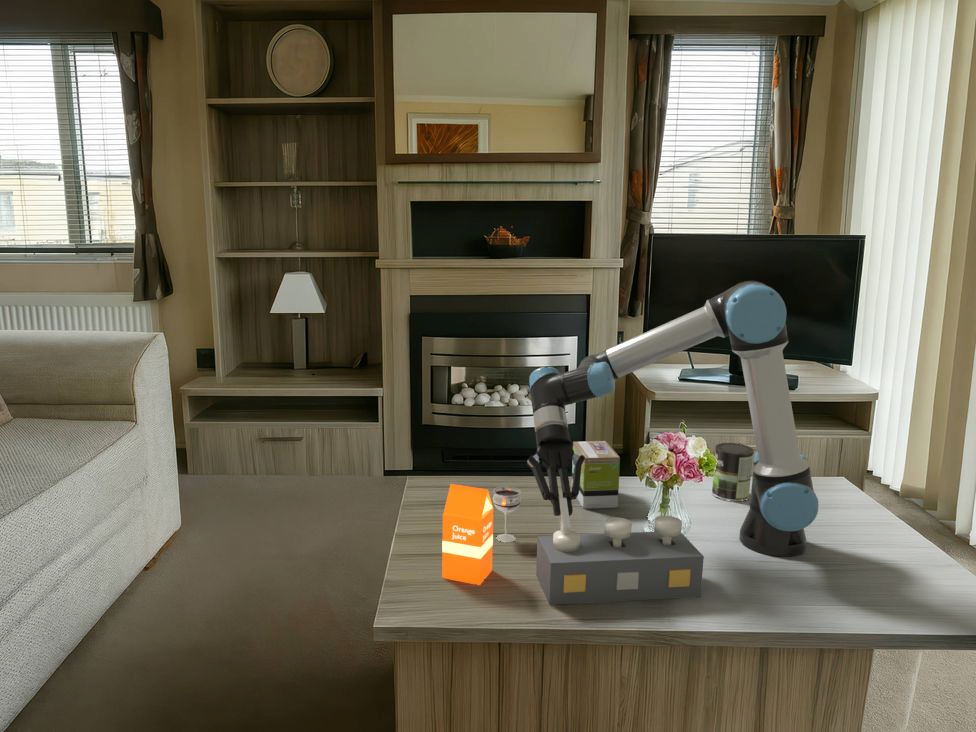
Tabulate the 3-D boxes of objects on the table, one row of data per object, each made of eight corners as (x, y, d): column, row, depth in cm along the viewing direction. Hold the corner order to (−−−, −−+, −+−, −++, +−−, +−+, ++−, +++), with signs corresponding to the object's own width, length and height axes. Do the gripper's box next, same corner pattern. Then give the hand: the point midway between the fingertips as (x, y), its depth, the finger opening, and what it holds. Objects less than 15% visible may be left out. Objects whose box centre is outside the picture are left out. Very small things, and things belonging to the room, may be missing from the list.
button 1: (574, 561, 163) (576, 529, 161) (581, 573, 157) (583, 540, 156) (549, 563, 162) (550, 530, 160) (555, 575, 156) (556, 541, 155)
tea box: (570, 489, 217) (572, 440, 215) (604, 489, 219) (606, 439, 216) (582, 509, 203) (584, 456, 200) (618, 508, 204) (621, 456, 201)
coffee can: (717, 501, 210) (721, 453, 208) (707, 488, 221) (711, 442, 218) (754, 502, 210) (758, 454, 207) (743, 489, 220) (747, 443, 218)
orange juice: (479, 585, 160) (481, 495, 156) (441, 578, 163) (442, 489, 159) (492, 570, 167) (494, 483, 163) (455, 563, 170) (456, 478, 166)
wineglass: (502, 530, 188) (503, 484, 186) (525, 537, 184) (526, 490, 182) (486, 539, 183) (487, 491, 180) (509, 546, 179) (510, 498, 177)
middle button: (625, 549, 164) (626, 517, 162) (633, 560, 158) (635, 527, 157) (599, 550, 163) (601, 517, 161) (607, 561, 157) (609, 528, 156)
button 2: (673, 547, 165) (675, 515, 164) (683, 558, 160) (686, 525, 158) (648, 548, 164) (651, 516, 163) (658, 559, 159) (660, 526, 158)
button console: (676, 568, 169) (679, 530, 168) (701, 597, 156) (704, 557, 155) (536, 575, 165) (537, 536, 163) (549, 605, 152) (551, 564, 150)
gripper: (576, 438, 175) (592, 535, 162) (520, 438, 173) (532, 537, 160) (583, 422, 169) (600, 521, 156) (525, 422, 167) (538, 523, 154)
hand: (565, 529), depth 158 cm, fingers closed
